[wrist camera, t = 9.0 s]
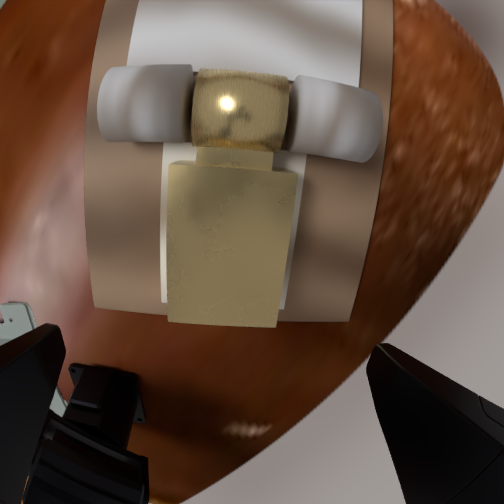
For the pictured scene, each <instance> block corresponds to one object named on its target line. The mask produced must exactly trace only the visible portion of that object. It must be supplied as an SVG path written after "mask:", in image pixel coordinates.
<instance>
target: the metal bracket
mask: <svg viewBox="0 0 504 504" xmlns="http://www.w3.org/2000/svg"><path fill="white" fill-rule="evenodd" d="M0 310H1V313H2V316H3V319H4V323H0V346H1V345H3V344H5V343H7V342H9V341H11V340H13V339H15V338H17V337H19V336H21V335H23V334H25V333H27V332H29V331H31V330H33V329H35V328H37V326H36V323H35V320H34V316H33V313H32V310H31V308H30V307H29V305H28V304H27V303H26V302H16V303H2V304H1V305H0ZM10 318H11V319H12V320H13V321H11V320H10ZM66 407H67V403H66V401H65V400H64V399H63V398H62V396H61V393H60V391H59V389H58V387H57V386H56V390H55V393H54V397H53V400H52V403H51V405H50V409H51V410H53V411H54V413H56V414H58V415H59V416H61V417H62V416H63V414H64V411H65V409H66Z"/></svg>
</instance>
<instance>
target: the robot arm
mask: <svg viewBox="0 0 504 504" xmlns="http://www.w3.org/2000/svg"><path fill="white" fill-rule="evenodd" d="M65 355H66V349H65V345H64V341H63V337H62V334H61V330H60V328H59V326H57V325H54V324H49V323H45V324H43V325H41V326H39V327H37V328H35V329H33V330H31V331H29V332H27V333H25V334H23V335H21V336H19V337H17V338H15V339H13V340H11V341H9V342H7V343H5V344H3V345H1V346H0V504H21V501H22V500H23V504H148V502H149V475H148V458H147V457H145V456H142V455H141V456H140V455H137V454H135V453H132V452H130V451H128V450H127V446H128V441H129V437H130V433H131V429H132V424H133V422H138V423H144V422H145V419H146V416H145V412H144V407H143V403H142V398H141V393H140V388H139V383H138V378H137V376H136V375H134V374H131V373H124V372H118V371H111V370H105V369H99V368H94V367H88V366H83V365H78V364H70V366H69V368H68V369H69V372H70V375H71V378H72V381H73V384H74V386H75V388H74V390H73V392H72V394H71V396H70V398H69V402H68V405H67V407H66V409H65V411H64V414H63V416H62V417H61V416H59V415H58V414H56V413H54V411H53V410H51V409H50V405H51V403H52V400H53V397H54V393H55V390H56V386H57V383H58V379H59V375H60V372H61V369H62V365H63V362H64V359H65ZM366 373H367V377H368V381H369V385H370V388H371V393H372V397H373V401H374V405H375V409H376V413H377V416H378V419H379V422H380V425H381V428H382V431H383V433H384V437H385V439H386V442H387V445H388V448H389V451H390V454H391V457H392V460H393V463H394V466H395V470H396V473H397V476H398V479H399V482H400V485H401V489H402V492H403V495H404V499H405V502H406V504H504V409H503V408H501V407H499V406H497V405H496V404H494V403H492V402H490V401H488V400H486V399H485V398H483V397H481V396H478V395H477V394H476V393H474V392H472V391H471V390H469V389H467V388H465V387H463V386H462V385H460V384H458V383H456V382H455V381H453V380H451V379H450V378H448V377H446V376H444V375H443V374H441V373H439V372H438V371H436V370H434V369H432V368H431V367H429V366H427V365H425V364H424V363H422V362H420V361H419V360H417V359H415V358H413V357H412V356H410V355H408V354H407V353H405V352H403V351H401V350H400V349H398V348H396V347H395V346H393V345H390V344H388V343H381V344H376V345H375V346H374V348H373V351H372V353H371V356H370V358H369V361H368V363H367V367H366ZM27 477H29V479H28V482H27V485H26V488H25V484H26V480H27ZM24 488H25V491H24ZM23 492H24V494H23ZM22 496H23V498H22Z"/></svg>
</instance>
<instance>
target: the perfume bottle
mask: <svg viewBox="0 0 504 504" xmlns="http://www.w3.org/2000/svg"><path fill="white" fill-rule="evenodd" d="M288 107H289V82H288V78H287V76H283V75H276V74H268V73H260V72H251V71H240V70H228V69H212V68H200V69H199V72H198V75H197V79H196V84H195V90H194V97H193V106H192V122H191V137H192V145H193V147H197V152H196V161H192V160H177V161H175V162H173V163H170V164H169V168H168V189H167V223H166V276H167V310H168V322H178V323H191V324H206V325H223V326H245V327H276V324H277V318H278V312H279V306H280V299H281V293H282V287H283V280H284V274H285V267H286V261H287V254H288V247H289V240H290V234H291V226H292V219H293V212H294V205H295V197H296V189H297V182H298V174H297V173H295V172H293V171H291V170H289V169H287V168H280V167H272V162H273V154H277V153H278V152H279V150H280V148H281V145H282V142H283V138H284V134H285V129H286V123H287V116H288Z"/></svg>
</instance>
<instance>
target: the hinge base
mask: <svg viewBox="0 0 504 504" xmlns="http://www.w3.org/2000/svg"><path fill="white" fill-rule="evenodd" d="M392 63H393V0H106V3H105V6H104V10H103V14H102V19H101V23H100V27H99V32H98V37H97V42H96V47H95V53H94V59H93V65H92V71H91V79H90V86H89V95H88V104H87V115H86V129H85V149H84V206H85V226H86V240H87V252H88V262H89V271H90V279H91V286H92V293H93V300H94V306H95V307H96V308H104V309H112V310H121V311H130V312H140V313H150V314H161V315H168V310H167V276H166V223H167V189H168V168H169V164H170V163H173V162H175V161H177V160H192V161H196V152H197V147H193V145H192V137H191V122H192V106H193V97H194V90H195V84H196V79H197V75H198V72H199V69H200V68H212V69H228V70H240V71H251V72H260V73H268V74H276V75H283V76H287V78H288V82H289V107H288V116H287V123H286V129H285V134H284V138H283V142H282V145H281V148H280V150H279V152H278V153H277V154H273V162H272V167H280V168H287V169H289V170H291V171H293V172H295V173H297V174H298V182H297V189H296V197H295V205H294V212H293V219H292V226H291V234H290V240H289V247H288V254H287V261H286V267H285V274H284V280H283V287H282V293H281V299H280V306H279V312H278V318H277V321H299V322H348V321H349V318H350V315H351V312H352V308H353V304H354V301H355V297H356V293H357V290H358V286H359V282H360V278H361V274H362V270H363V266H364V261H365V257H366V253H367V248H368V244H369V239H370V235H371V230H372V225H373V220H374V215H375V209H376V204H377V199H378V193H379V187H380V181H381V174H382V168H383V161H384V154H385V146H386V138H387V129H388V120H389V109H390V97H391V83H392Z"/></svg>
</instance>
